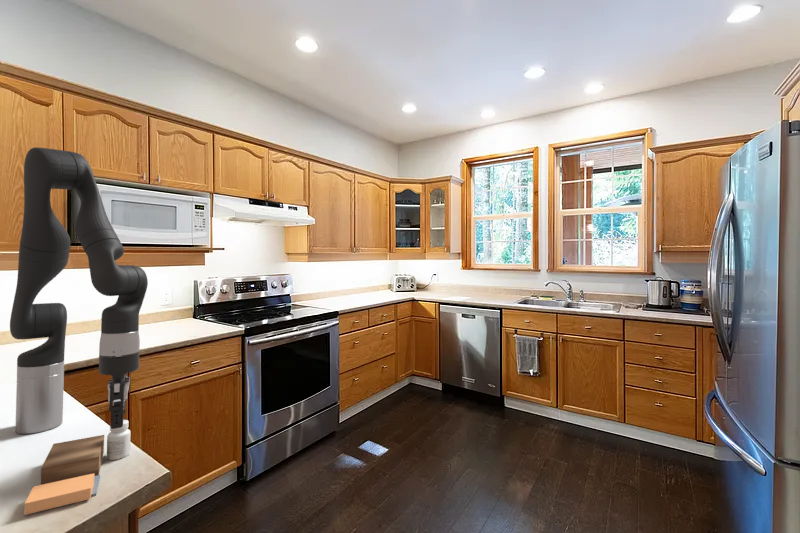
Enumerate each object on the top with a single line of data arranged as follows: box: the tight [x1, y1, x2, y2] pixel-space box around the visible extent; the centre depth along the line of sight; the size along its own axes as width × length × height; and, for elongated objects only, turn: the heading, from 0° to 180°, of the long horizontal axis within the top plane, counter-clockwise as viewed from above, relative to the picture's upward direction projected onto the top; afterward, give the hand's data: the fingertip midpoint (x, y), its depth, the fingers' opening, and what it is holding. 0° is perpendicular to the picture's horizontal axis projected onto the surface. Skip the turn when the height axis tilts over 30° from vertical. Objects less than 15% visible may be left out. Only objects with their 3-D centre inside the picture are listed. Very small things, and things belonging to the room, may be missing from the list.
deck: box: [40, 434, 105, 485], centre depth 82 cm, size 12×9×4 cm
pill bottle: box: [106, 419, 132, 461], centre depth 88 cm, size 4×4×8 cm
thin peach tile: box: [24, 473, 95, 516], centre depth 71 cm, size 6×9×2 cm, turn 123°
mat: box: [91, 474, 101, 497], centre depth 74 cm, size 8×8×1 cm
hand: (118, 421), depth 88 cm, fingers open, 8 cm apart
